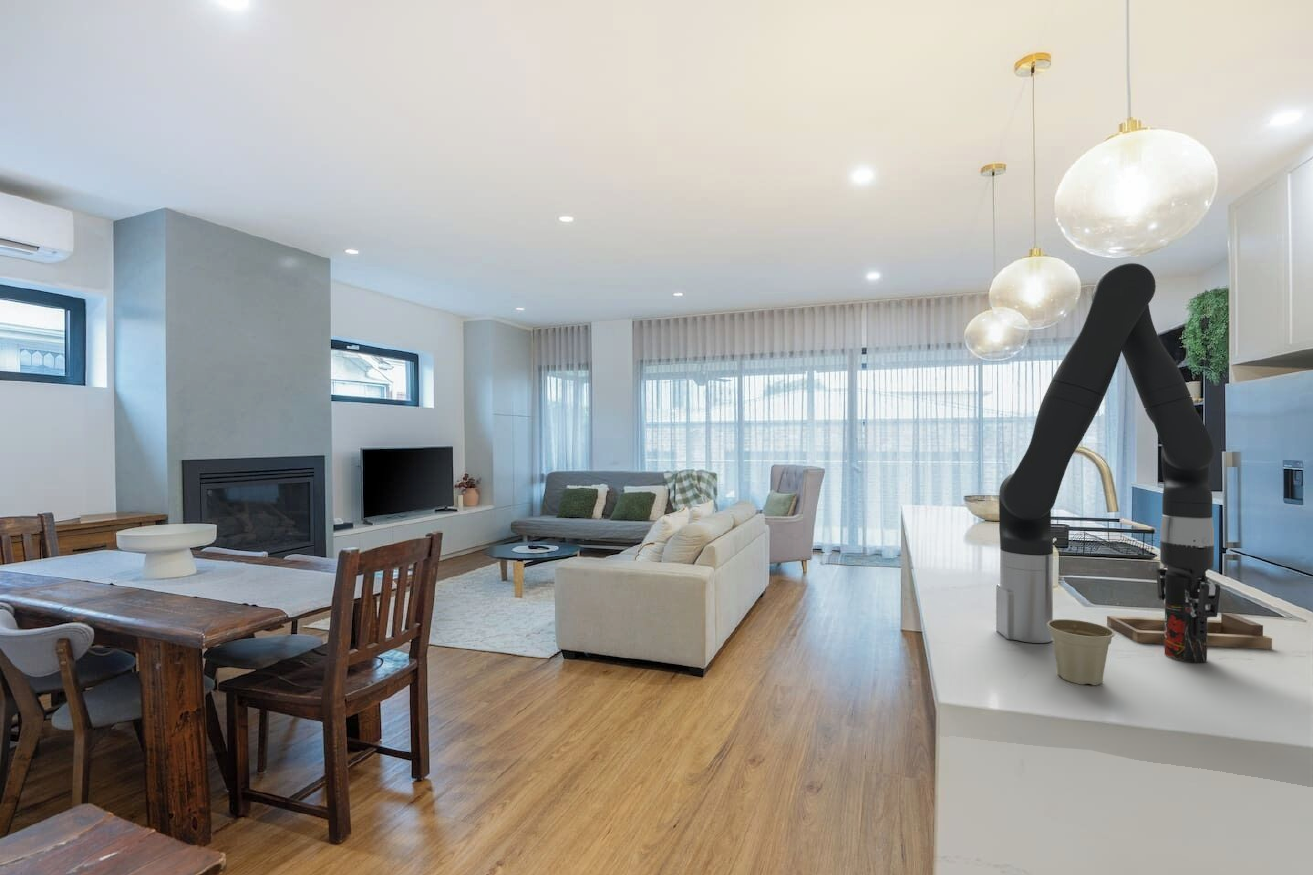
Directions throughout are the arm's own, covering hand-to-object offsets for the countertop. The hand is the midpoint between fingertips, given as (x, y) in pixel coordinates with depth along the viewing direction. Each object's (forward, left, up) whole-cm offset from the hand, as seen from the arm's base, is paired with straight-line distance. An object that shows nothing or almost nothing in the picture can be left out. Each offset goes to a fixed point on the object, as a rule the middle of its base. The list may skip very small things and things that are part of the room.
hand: (1185, 631), depth 115 cm
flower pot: (-24, -14, -5) cm, 28 cm away
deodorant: (0, 0, -5) cm, 5 cm away
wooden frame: (+8, +13, -5) cm, 16 cm away
